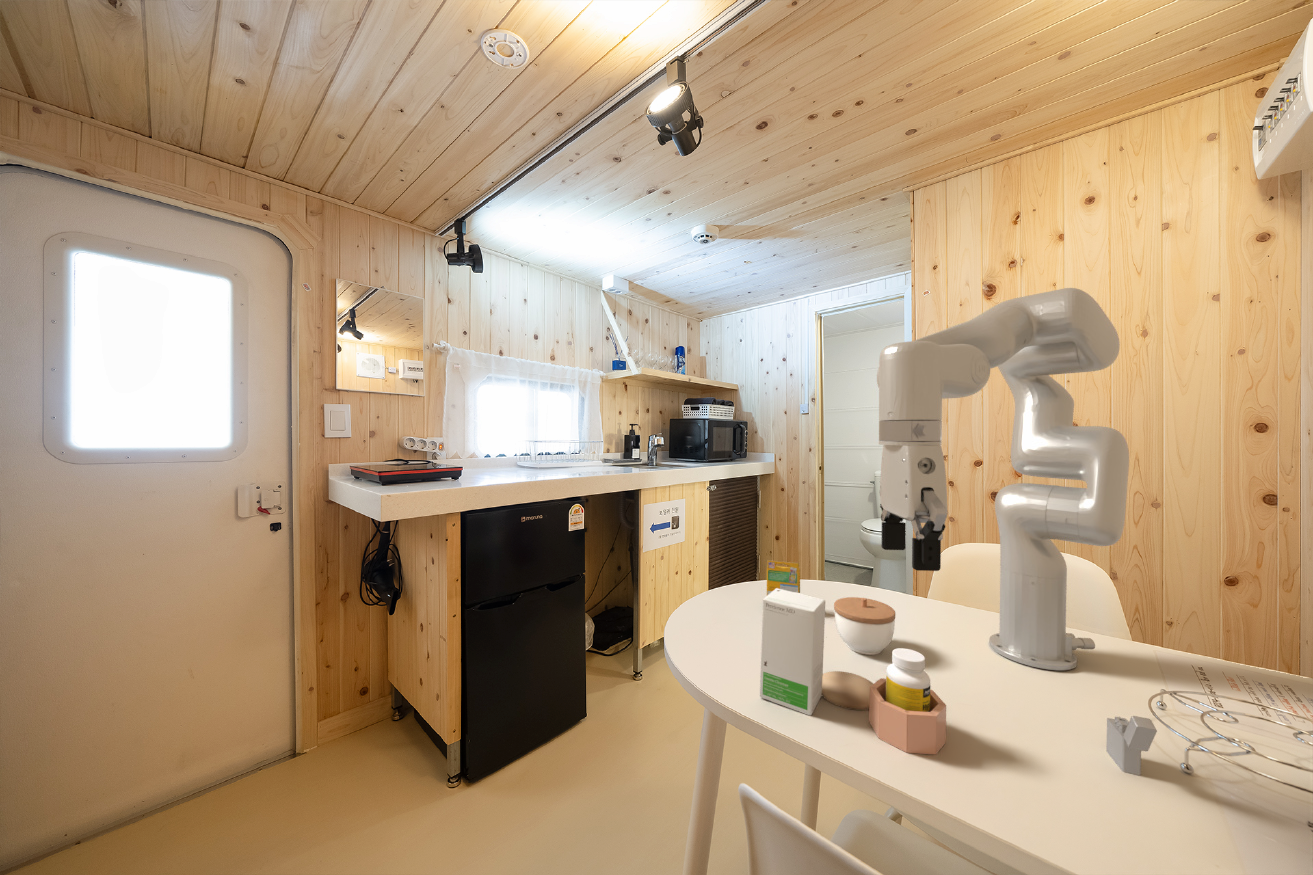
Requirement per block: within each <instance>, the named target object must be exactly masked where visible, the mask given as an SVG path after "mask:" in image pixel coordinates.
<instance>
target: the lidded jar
mask: <svg viewBox="0 0 1313 875" xmlns="http://www.w3.org/2000/svg"><path fill="white" fill-rule="evenodd" d="M833 609H834V622H835V628H836V630H837V633H838V635H839V637H840V639H841V640H842V642H844V644H846V646H847V648H848V649H849V650H851V651H852V652H855V653H858V654H861V655H868V656H875V655H879V654H881V652H882V651H883V650H885V649H886V648H887V647H889V645H890V643H891V642H892V639H893V636H894V633H895V623H896V621H895V620H896V610H895V609H894V608H892V606H890V605H888V604H887V603H884V602H882V601H879V600H876V599H870V598H866V597H858V596H857V597H856V596H849V597H842V598H839V599H836V600H835V602H834V604H833Z"/></svg>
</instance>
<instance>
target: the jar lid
mask: <svg viewBox="0 0 1313 875" xmlns="http://www.w3.org/2000/svg"><path fill="white" fill-rule="evenodd" d="M873 684H874V683H873V682H872V681H870V680H869V679H868V678H865V677H863V676H861V675H859V674H856V673H852V672H847V671H840V670H839V671H838V670H837V671H834V670H833V671H827V672H823V677H822V696H821V697H823V698H824V699H825V700H826V701H827V702H829V703H832V704H833V705H836V706H839V707H840V708H844V709H849V710H854V711H859V710H860V711H863V710H865V711H866V710H869V688H870V686H871V685H873Z"/></svg>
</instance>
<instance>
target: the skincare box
mask: <svg viewBox="0 0 1313 875" xmlns="http://www.w3.org/2000/svg"><path fill="white" fill-rule="evenodd" d="M825 616H826V599H824V598H823V599H822V598H820V597H816V596H815V597H814V596H810V595H806V594H804V593H801V592H800V593H797V592H790V591H786V590H782V589H778V588H776V589H775V590H773V591H772V592H771V593H770V594H769V595H767V594H766V596H765V597H764V598H763V599H762V619H761V622H762V623H761V646H760V647H761V648H760V651H761V652H760V673H759V674H760V675H759V676H760V677H759V678H760V679H759V697H760V698H761V699H764V700H767V701H769V702H772V703H774V704H777V705H780V706H783V707H786V708H788V709H791V710H794V711H796V712H798V713H799V712H800V713H801V714H805V715H806V716H812V714H813V713H814V711H815V708H816V707H817V705H818V703H819V702H820V699H822V697H823V696H822V677H823V674H824V670H823V669H824V649H825V648H824V647H825V646H824V645H825V622H826V621H825V620H826V617H825Z"/></svg>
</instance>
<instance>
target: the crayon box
mask: <svg viewBox="0 0 1313 875" xmlns="http://www.w3.org/2000/svg"><path fill="white" fill-rule="evenodd" d="M782 564H783V565H785V566H779V565H782ZM776 588H778V589H782V590H786V591H790V592H797V593H801V568H800V563H798V562H789V561H781V560H780V561H779V560H778V561H777V560H772V559H771V560H768V559H767V560H766V596H767V595H769V594H770V593H771V592H772V591H773V590H775V589H776Z"/></svg>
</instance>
